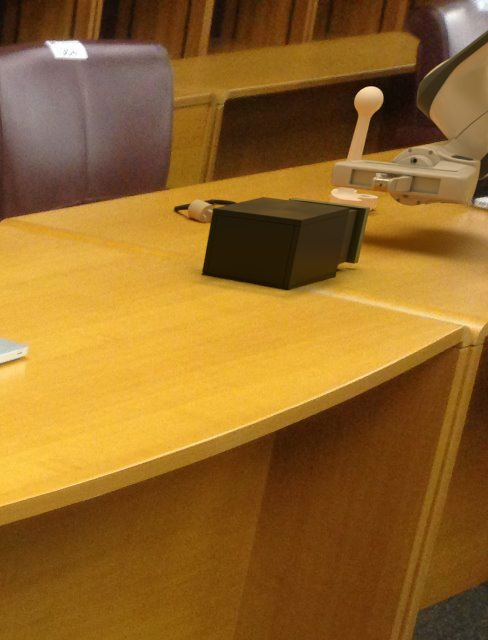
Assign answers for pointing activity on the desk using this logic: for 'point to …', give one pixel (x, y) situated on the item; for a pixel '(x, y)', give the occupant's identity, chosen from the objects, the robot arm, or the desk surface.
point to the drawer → (349, 230)
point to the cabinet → (275, 242)
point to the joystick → (360, 146)
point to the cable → (202, 209)
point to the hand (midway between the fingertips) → (380, 184)
